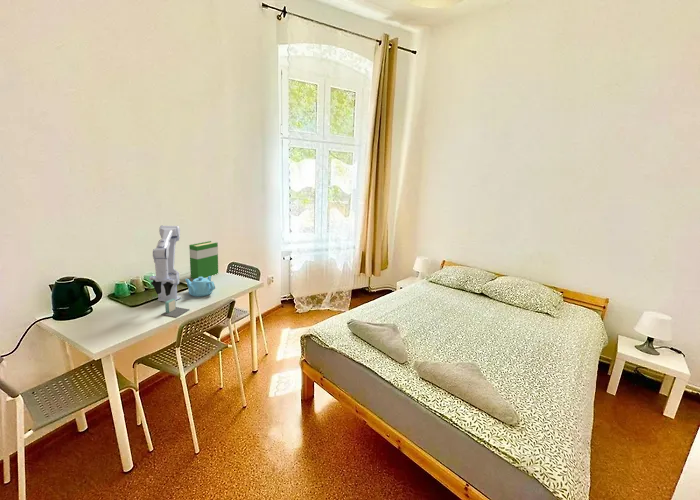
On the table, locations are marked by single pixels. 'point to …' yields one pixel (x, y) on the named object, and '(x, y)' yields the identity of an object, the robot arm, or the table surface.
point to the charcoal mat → (176, 312)
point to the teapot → (200, 286)
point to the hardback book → (203, 259)
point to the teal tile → (170, 305)
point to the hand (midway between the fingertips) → (163, 294)
